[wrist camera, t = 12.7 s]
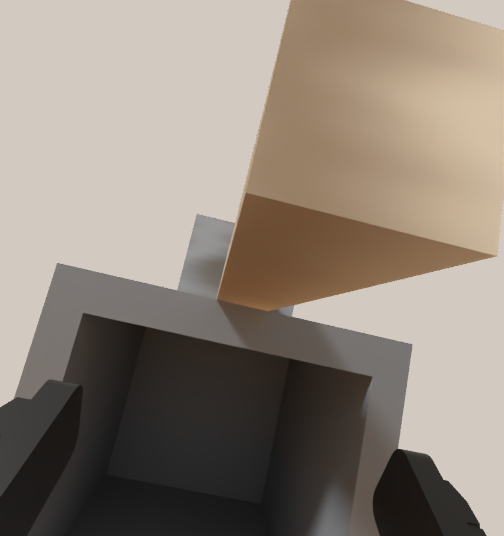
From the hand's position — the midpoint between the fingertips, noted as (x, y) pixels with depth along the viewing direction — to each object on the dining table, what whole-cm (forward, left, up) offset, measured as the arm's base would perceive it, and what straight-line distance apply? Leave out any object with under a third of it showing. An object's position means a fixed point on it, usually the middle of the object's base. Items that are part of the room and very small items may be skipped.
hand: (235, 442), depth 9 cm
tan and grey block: (0, +7, +4) cm, 8 cm away
